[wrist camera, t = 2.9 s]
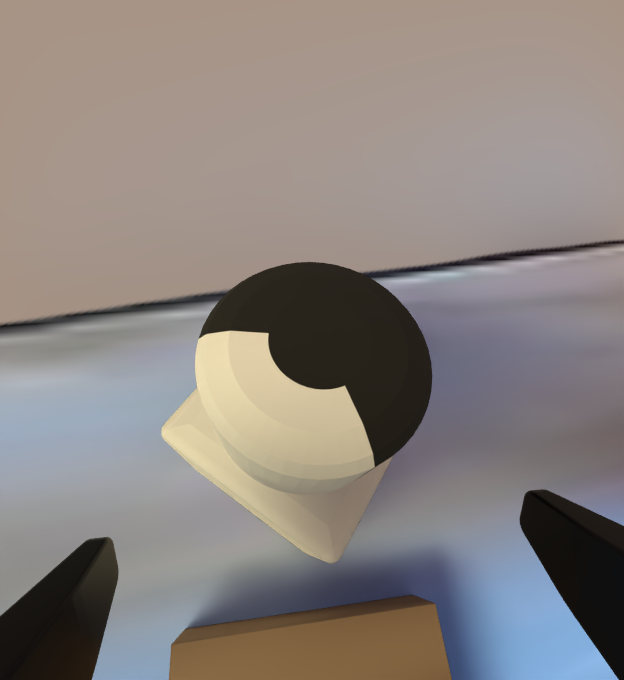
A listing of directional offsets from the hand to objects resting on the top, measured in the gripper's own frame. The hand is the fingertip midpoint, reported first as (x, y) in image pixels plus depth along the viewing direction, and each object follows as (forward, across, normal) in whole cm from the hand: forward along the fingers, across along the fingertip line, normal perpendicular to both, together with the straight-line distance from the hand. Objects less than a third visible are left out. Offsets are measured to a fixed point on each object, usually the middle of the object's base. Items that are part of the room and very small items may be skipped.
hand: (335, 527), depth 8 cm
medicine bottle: (+10, 0, +5) cm, 12 cm away
